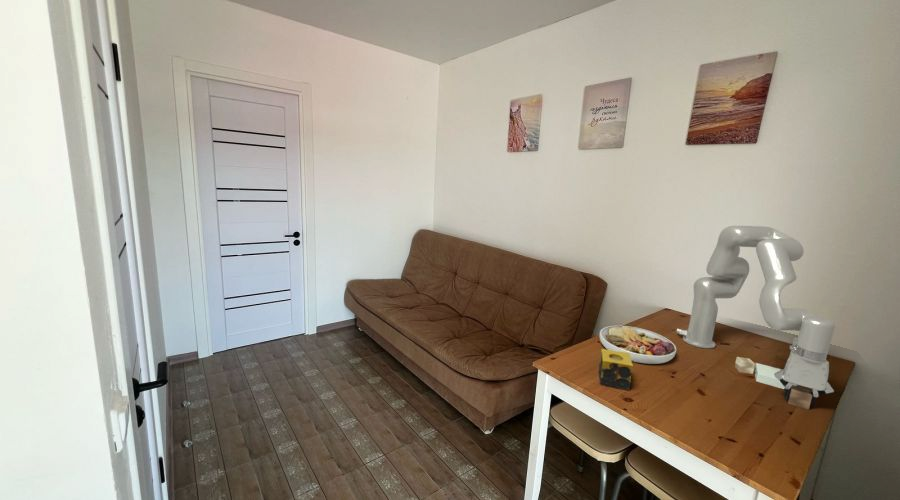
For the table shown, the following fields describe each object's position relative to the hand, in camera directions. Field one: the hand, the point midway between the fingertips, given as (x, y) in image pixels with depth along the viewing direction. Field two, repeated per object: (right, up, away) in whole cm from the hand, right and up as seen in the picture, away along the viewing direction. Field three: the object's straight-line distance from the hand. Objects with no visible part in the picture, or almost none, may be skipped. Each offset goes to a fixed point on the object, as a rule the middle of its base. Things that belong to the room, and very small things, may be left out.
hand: (797, 401), depth 123 cm
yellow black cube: (-59, +3, +10) cm, 60 cm away
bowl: (-38, +8, +35) cm, 52 cm away
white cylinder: (+24, +3, +24) cm, 34 cm away
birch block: (-2, +4, +21) cm, 21 cm away
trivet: (+4, +2, +14) cm, 15 cm away
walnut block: (0, -1, 0) cm, 1 cm away
